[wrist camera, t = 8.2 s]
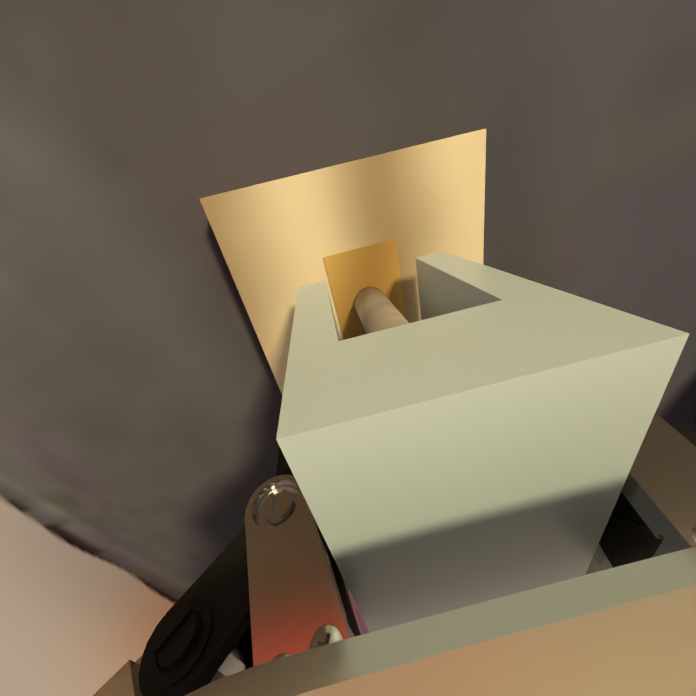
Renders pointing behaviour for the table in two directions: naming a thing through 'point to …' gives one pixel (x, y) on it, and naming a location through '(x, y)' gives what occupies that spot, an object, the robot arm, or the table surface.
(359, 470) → the pale green notched block
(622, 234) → the table surface
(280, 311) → the board
